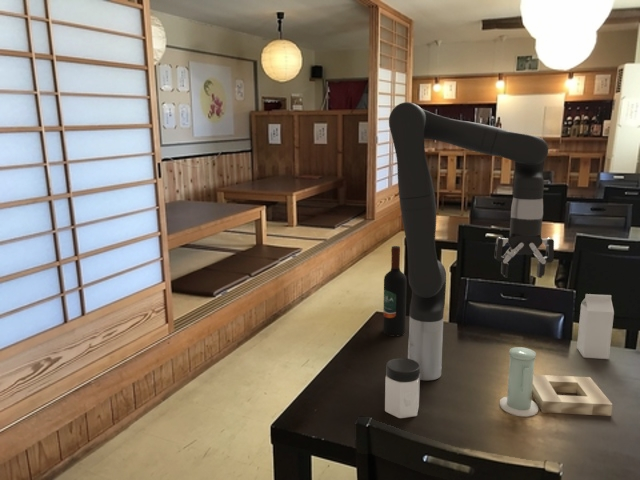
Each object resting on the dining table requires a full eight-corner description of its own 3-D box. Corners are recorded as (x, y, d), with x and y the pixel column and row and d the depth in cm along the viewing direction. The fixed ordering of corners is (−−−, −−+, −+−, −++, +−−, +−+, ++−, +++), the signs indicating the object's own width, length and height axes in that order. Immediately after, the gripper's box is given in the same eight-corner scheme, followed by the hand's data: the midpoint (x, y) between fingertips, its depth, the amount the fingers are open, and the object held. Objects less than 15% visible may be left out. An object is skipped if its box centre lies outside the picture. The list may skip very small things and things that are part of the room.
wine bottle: (406, 336, 173) (409, 249, 167) (384, 336, 174) (385, 249, 167) (403, 327, 181) (405, 244, 174) (382, 327, 181) (383, 244, 175)
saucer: (504, 415, 125) (504, 413, 125) (496, 396, 134) (496, 394, 134) (542, 417, 124) (543, 415, 124) (532, 398, 133) (532, 396, 133)
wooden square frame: (542, 412, 126) (542, 401, 126) (526, 384, 140) (527, 374, 139) (611, 415, 124) (612, 404, 124) (588, 387, 138) (590, 377, 137)
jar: (390, 420, 124) (391, 374, 121) (379, 403, 131) (380, 359, 129) (425, 415, 126) (427, 370, 123) (412, 399, 133) (413, 355, 131)
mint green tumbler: (510, 413, 125) (514, 360, 122) (503, 397, 132) (507, 346, 129) (536, 415, 124) (541, 361, 121) (527, 398, 132) (531, 347, 129)
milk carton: (608, 359, 154) (615, 299, 150) (583, 358, 156) (589, 298, 152) (601, 349, 161) (607, 291, 157) (576, 348, 162) (582, 290, 158)
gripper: (551, 213, 134) (546, 273, 138) (494, 213, 136) (491, 272, 139) (560, 218, 127) (555, 281, 130) (500, 217, 129) (496, 280, 132)
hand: (522, 276), depth 135 cm, fingers open, 8 cm apart
